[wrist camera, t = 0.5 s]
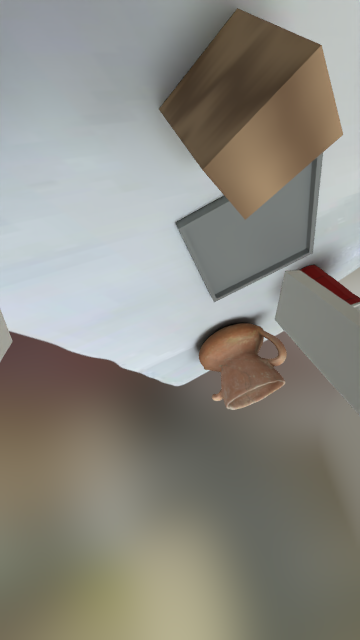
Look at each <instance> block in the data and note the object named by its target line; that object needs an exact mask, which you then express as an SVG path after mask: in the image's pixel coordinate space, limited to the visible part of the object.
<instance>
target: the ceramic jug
mask: <svg viewBox="0 0 360 640" xmlns="http://www.w3.org/2000/svg"><path fill="white" fill-rule="evenodd" d="M263 337H265V338H267V339H269V340H270V341H271V342H272V343H273V344H274V345H275V346H276V347H277V350H278V356H277V357H276V358H274V359H265V358H261V357H259V356H258V352H259V350H260V348H261V346H262V344H263ZM285 359H286V349H285V347H284V345H283V344H282V342H281V341H280V340H279V339H278V338H276V337H275V336H273V335H271V334H269V333H267V332H265V331H264V330H263V329H262V328H261V327H260V326H256V325H254V324H249V323H240V324H235V325H230V326H227V327H225V328H222V329H220V330H219V331H217V332H215V333H214V334H212V335H211V336H210V337H209V338H208V339H207V340H206V341H205V342H204V343H203V345H202V346H201V348H200V351H199V360H200V362H201V364H202V365H203V366H204V369H205V370H212V371H218V372H221V384H222V389H221V391H220V392H219V393H218V394H213V395H212V398H213V400H215V401H219V400H221V399H224V403H225V405H226V407H227V409H229V408H230V409H231V410H234V409H239V408H243V407H246V406H248V405H250V404H252V403H255V402H257V401H260V400H262V399H263V398H265V397H267V396H268V395H269V394H271V393H273V392H274V391H276V390H278V389H279V388H280V387H282V386H283V385H284V384H285V380H284V379H283V378H282V376H281V375H280V374H279V373H278V372H277V371H276V370H275V369H274V366H278V365H280V364H282V363H283V362H284V360H285Z"/></svg>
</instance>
